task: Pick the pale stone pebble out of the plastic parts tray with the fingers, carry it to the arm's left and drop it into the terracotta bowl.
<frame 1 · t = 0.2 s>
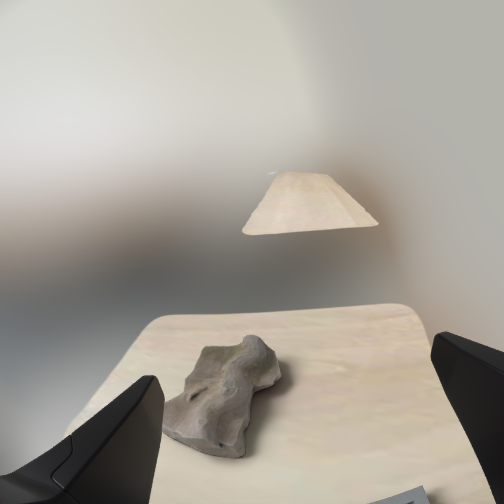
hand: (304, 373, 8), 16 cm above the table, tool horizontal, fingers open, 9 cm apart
stone: (224, 403, 28), on the table
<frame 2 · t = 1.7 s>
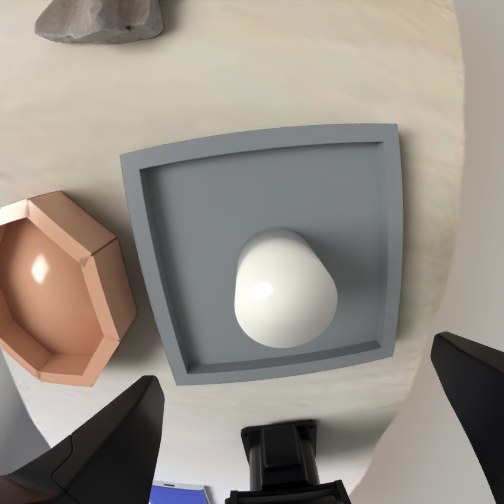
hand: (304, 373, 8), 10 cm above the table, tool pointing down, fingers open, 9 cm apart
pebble: (276, 265, 17), point 1 cm above the table, touching parts tray
bowl: (54, 285, 19), on the table
parts tray: (274, 259, 18), on the table
hard drive: (180, 497, 29), on the table
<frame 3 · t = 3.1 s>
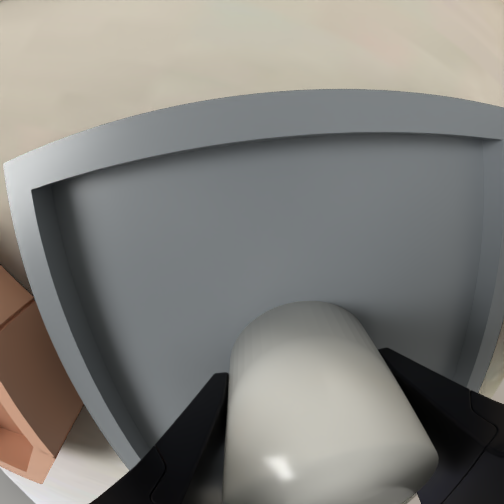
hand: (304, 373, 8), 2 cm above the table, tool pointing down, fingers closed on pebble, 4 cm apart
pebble: (301, 363, 9), point 1 cm above the table, touching gripper, parts tray
parts tray: (296, 345, 10), on the table
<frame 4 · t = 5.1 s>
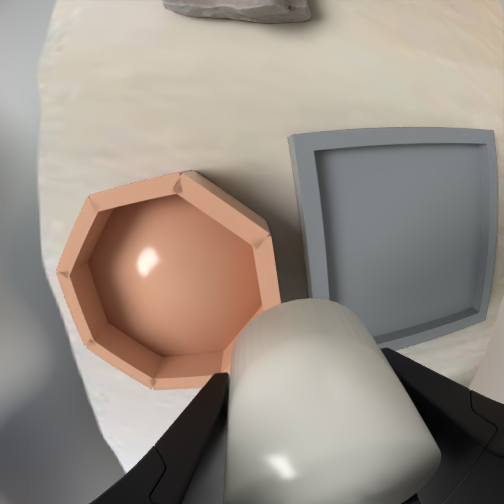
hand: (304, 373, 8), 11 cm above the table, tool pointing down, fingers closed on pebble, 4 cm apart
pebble: (302, 361, 9), point 11 cm above the table, touching gripper
bowl: (173, 277, 19), on the table
parts tray: (407, 239, 19), on the table
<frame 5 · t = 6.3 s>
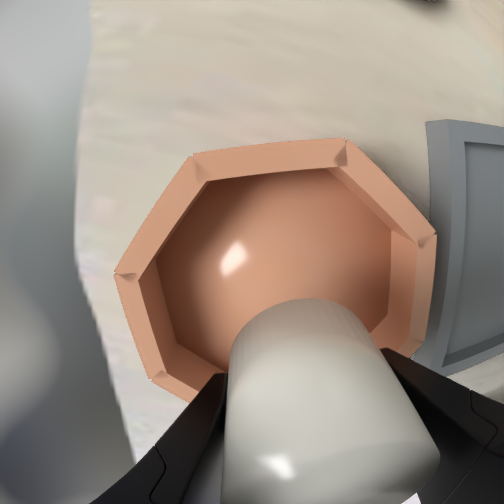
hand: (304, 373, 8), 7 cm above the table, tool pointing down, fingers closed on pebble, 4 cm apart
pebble: (301, 361, 9), point 6 cm above the table, touching gripper
bowl: (279, 282, 15), on the table
when the fingers open (5 cm above the table, at t = 7.0 s): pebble drops 3 cm, resting on bowl.
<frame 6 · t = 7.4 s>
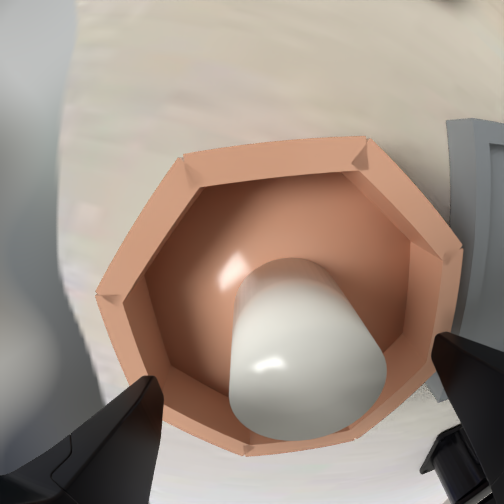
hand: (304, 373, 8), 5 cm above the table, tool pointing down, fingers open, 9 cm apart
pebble: (288, 308, 12), point 1 cm above the table, touching bowl
bowl: (284, 299, 13), on the table
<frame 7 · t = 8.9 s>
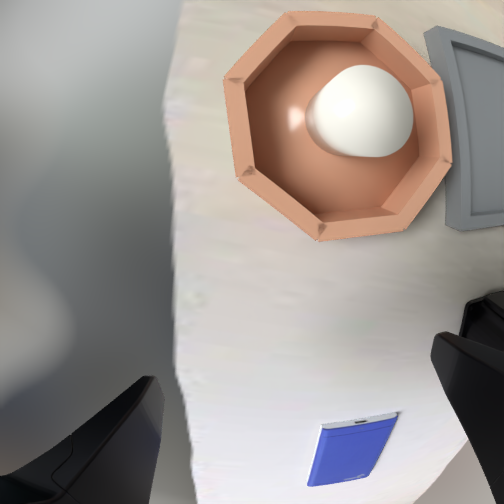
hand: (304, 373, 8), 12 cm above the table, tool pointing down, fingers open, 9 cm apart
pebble: (340, 120, 16), point 1 cm above the table, touching bowl
bowl: (335, 123, 17), on the table
parts tray: (502, 132, 17), on the table
hard drive: (346, 447, 28), on the table
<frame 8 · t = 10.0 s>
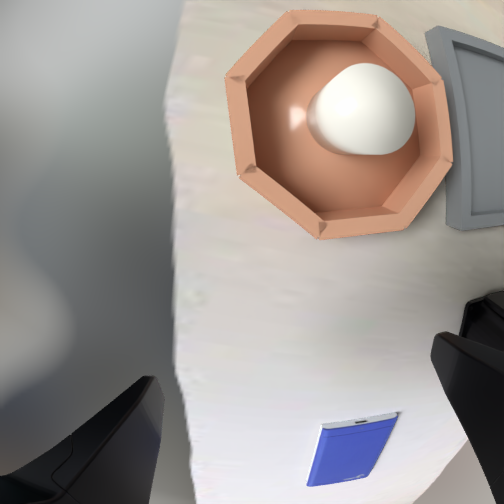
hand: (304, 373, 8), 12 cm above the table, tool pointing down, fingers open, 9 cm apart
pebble: (341, 119, 16), point 1 cm above the table, touching bowl
bowl: (336, 122, 17), on the table
parts tray: (502, 132, 17), on the table
hard drive: (346, 447, 28), on the table
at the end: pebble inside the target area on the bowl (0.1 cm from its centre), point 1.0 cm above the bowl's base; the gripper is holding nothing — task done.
